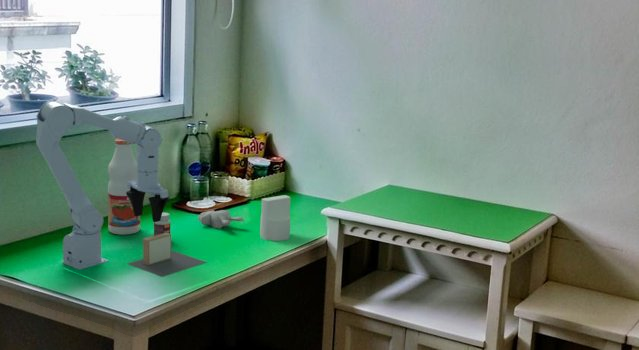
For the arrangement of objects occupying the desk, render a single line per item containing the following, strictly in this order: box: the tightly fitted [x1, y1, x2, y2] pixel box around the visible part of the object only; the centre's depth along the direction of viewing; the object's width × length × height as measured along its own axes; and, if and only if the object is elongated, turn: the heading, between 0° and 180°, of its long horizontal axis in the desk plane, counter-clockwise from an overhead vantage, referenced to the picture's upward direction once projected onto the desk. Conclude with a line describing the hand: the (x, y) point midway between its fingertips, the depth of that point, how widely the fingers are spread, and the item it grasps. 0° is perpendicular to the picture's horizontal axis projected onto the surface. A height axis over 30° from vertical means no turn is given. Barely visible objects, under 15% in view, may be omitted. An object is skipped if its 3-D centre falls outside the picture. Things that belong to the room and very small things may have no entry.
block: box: [142, 233, 172, 265], centre depth 226 cm, size 8×2×7 cm, turn 141°
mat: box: [127, 250, 208, 278], centre depth 225 cm, size 16×14×1 cm
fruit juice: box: [107, 138, 141, 236], centre depth 250 cm, size 9×9×28 cm
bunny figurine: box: [197, 209, 245, 230], centre depth 261 cm, size 10×5×15 cm
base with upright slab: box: [259, 194, 291, 242], centre depth 253 cm, size 9×9×12 cm
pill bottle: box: [153, 211, 171, 236], centre depth 243 cm, size 5×5×8 cm
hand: (147, 218), depth 231 cm, fingers open, 7 cm apart
